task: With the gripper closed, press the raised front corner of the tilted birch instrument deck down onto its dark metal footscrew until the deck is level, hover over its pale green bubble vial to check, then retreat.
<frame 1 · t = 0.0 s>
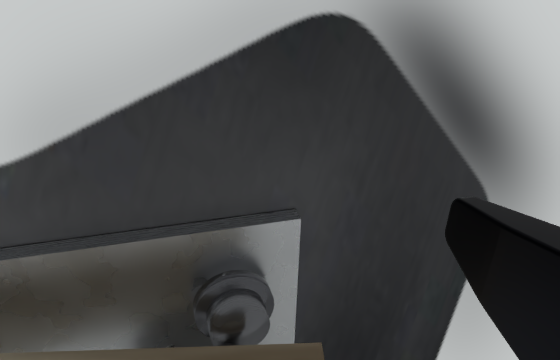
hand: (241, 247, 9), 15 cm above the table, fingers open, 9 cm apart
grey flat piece: (87, 326, 28), on the table
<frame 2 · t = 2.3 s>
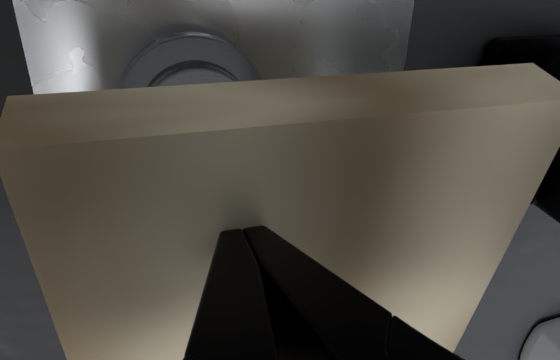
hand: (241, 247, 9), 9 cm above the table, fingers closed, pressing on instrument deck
eye dropper bottle: (539, 345, 31), on the table
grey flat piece: (235, 268, 21), on the table
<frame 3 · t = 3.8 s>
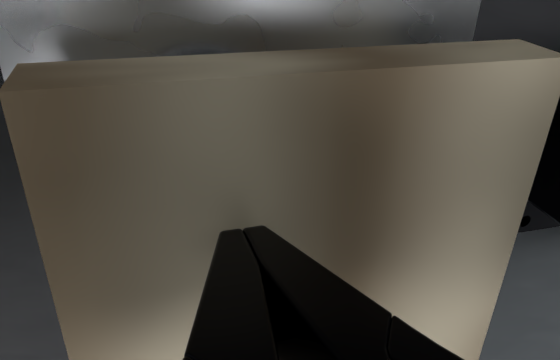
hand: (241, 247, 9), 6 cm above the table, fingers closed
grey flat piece: (255, 322, 18), on the table
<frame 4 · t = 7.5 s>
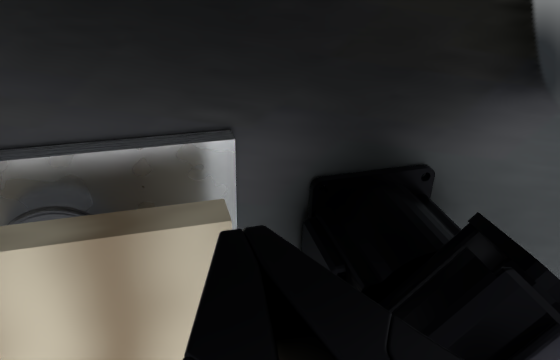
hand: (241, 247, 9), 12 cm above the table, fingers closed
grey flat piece: (122, 351, 26), on the table
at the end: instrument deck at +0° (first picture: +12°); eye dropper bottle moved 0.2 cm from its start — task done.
